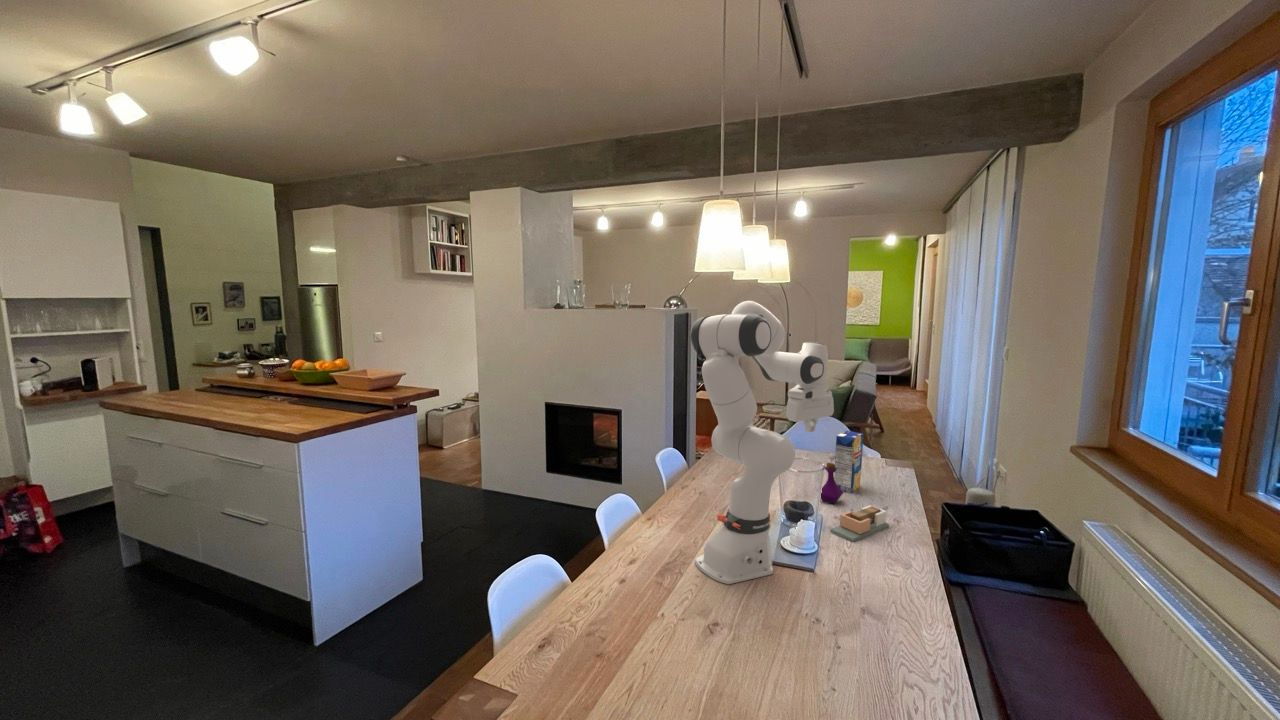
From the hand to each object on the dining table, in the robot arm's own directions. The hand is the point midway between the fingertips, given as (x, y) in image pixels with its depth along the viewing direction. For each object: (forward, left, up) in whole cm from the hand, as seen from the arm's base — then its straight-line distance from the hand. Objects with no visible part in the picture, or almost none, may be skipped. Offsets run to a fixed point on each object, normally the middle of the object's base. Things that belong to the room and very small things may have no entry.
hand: (810, 431), depth 163 cm
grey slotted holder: (+10, -14, -31) cm, 36 cm away
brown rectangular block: (+12, -14, -30) cm, 35 cm away
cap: (+7, -14, -30) cm, 34 cm away
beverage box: (+40, +11, -31) cm, 52 cm away
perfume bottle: (+22, +6, -31) cm, 39 cm away
